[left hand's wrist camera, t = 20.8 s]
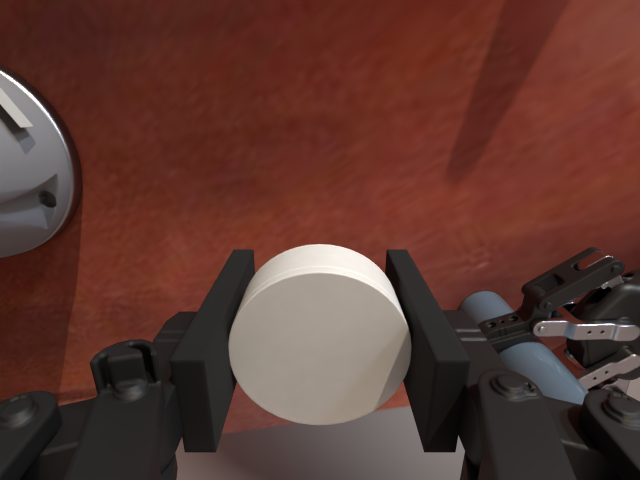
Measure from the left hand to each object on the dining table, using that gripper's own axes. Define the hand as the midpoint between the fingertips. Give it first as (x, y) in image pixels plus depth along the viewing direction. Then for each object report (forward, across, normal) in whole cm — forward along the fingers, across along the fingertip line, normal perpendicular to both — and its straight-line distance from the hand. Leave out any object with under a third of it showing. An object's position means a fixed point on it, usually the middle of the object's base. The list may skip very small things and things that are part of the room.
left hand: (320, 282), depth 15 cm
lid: (-4, 0, 0) cm, 4 cm away
